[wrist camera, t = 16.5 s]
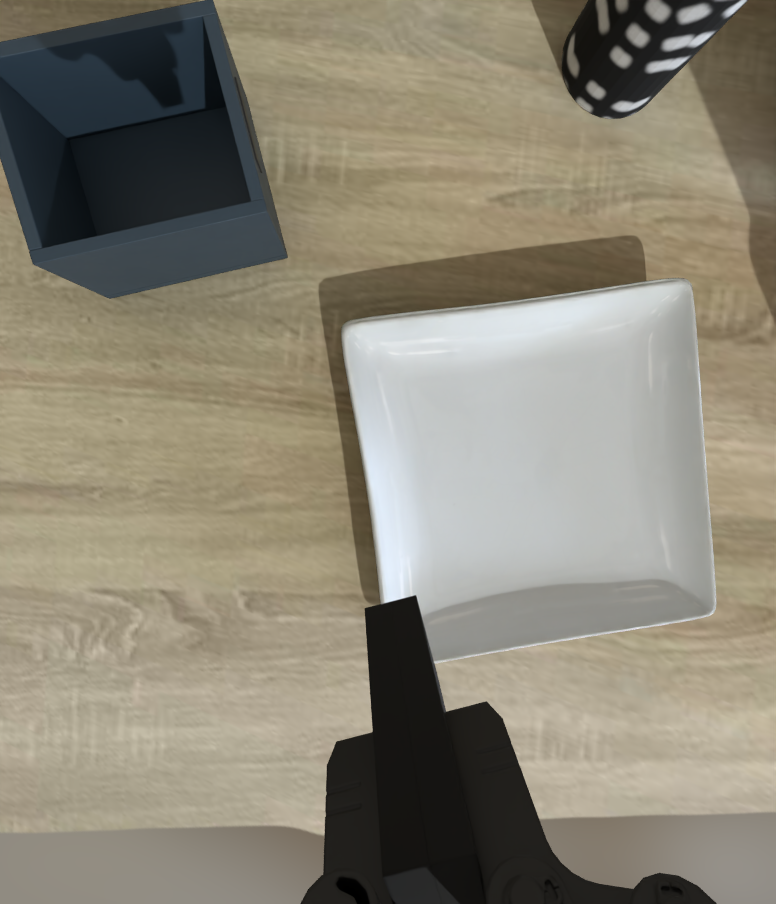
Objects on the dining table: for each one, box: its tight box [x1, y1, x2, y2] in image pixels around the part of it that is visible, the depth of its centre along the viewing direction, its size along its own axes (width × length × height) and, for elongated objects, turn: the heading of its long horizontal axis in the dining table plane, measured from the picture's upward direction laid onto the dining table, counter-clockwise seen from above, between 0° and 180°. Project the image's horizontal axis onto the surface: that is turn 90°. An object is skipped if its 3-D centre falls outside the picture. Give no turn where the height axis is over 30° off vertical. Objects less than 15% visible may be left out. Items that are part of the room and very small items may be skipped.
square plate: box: [341, 278, 716, 664], centre depth 39 cm, size 27×27×4 cm
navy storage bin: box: [0, 0, 288, 299], centre depth 33 cm, size 9×14×12 cm
